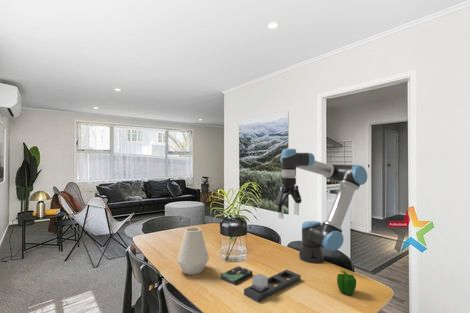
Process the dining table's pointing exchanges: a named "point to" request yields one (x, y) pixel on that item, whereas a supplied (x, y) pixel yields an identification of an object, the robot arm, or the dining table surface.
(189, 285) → the dining table surface
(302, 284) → the dining table surface
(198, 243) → the vase
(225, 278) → the disk drive
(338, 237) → the robot arm
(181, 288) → the dining table surface
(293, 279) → the rail
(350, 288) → the bell pepper
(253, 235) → the dining table surface
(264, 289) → the block
